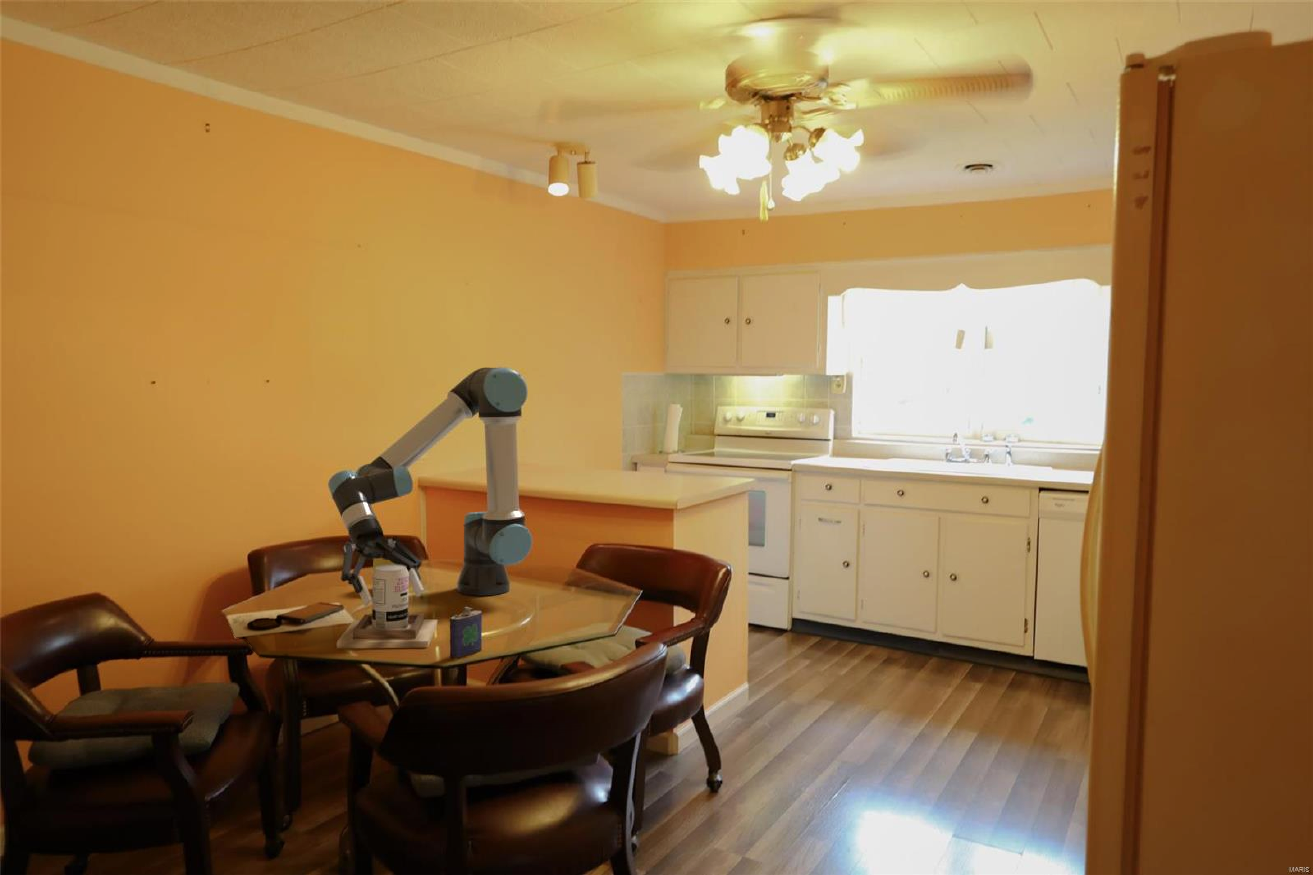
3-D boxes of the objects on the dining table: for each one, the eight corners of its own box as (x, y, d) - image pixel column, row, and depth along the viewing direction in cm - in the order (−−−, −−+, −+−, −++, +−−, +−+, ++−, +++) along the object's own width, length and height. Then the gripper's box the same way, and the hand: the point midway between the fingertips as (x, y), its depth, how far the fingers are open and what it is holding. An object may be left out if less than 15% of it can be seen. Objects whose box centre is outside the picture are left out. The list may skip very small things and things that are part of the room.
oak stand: (437, 625, 216) (437, 611, 216) (427, 647, 199) (428, 632, 198) (353, 626, 214) (353, 612, 214) (336, 648, 196) (336, 633, 196)
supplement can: (376, 625, 210) (377, 563, 209) (411, 625, 211) (412, 564, 210) (368, 634, 202) (368, 570, 201) (404, 635, 203) (405, 571, 202)
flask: (476, 647, 200) (476, 601, 199) (485, 650, 198) (486, 603, 197) (446, 658, 192) (447, 610, 191) (456, 660, 190) (457, 612, 190)
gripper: (402, 529, 224) (434, 598, 215) (308, 541, 206) (339, 616, 197) (413, 512, 220) (447, 580, 211) (319, 521, 202) (351, 597, 193)
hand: (395, 598), depth 204 cm, fingers open, 13 cm apart
